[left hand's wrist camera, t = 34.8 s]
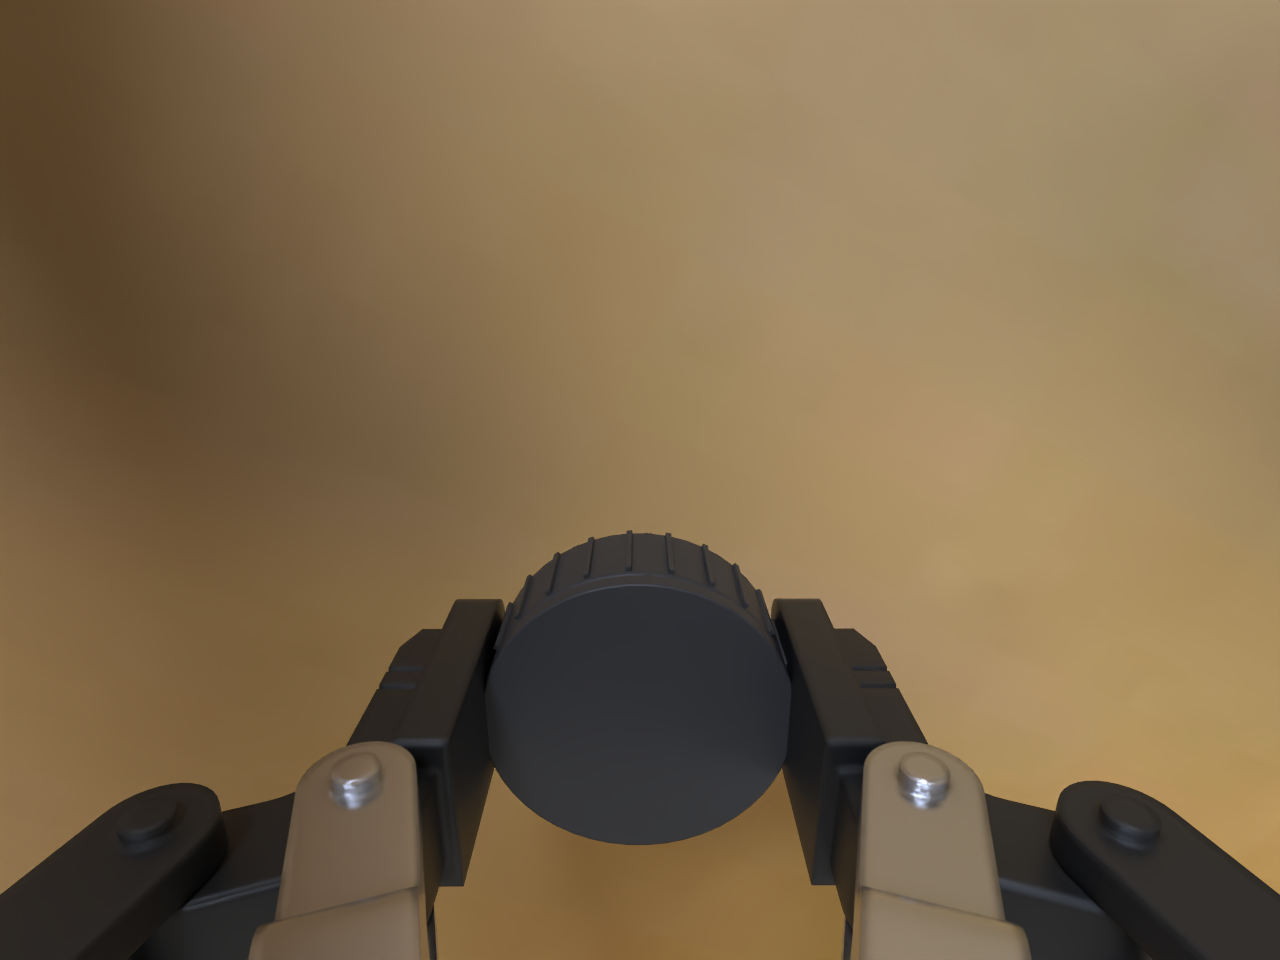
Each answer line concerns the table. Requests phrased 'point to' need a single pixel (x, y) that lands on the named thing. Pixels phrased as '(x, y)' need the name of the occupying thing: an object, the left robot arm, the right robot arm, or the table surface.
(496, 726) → the cap
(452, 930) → the table surface
